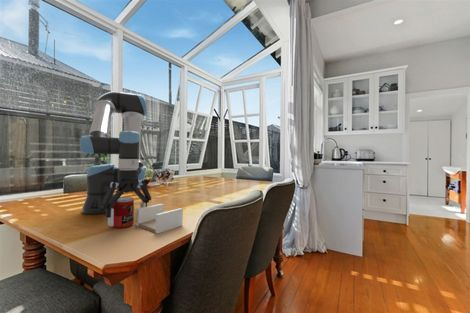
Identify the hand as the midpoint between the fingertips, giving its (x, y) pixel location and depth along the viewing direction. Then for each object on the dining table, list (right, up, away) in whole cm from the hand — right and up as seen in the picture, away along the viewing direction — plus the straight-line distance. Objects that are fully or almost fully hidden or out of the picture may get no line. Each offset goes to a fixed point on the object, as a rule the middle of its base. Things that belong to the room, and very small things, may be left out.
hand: (127, 221), depth 90 cm
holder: (+13, -2, +1) cm, 13 cm away
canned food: (-2, -2, 0) cm, 3 cm away
